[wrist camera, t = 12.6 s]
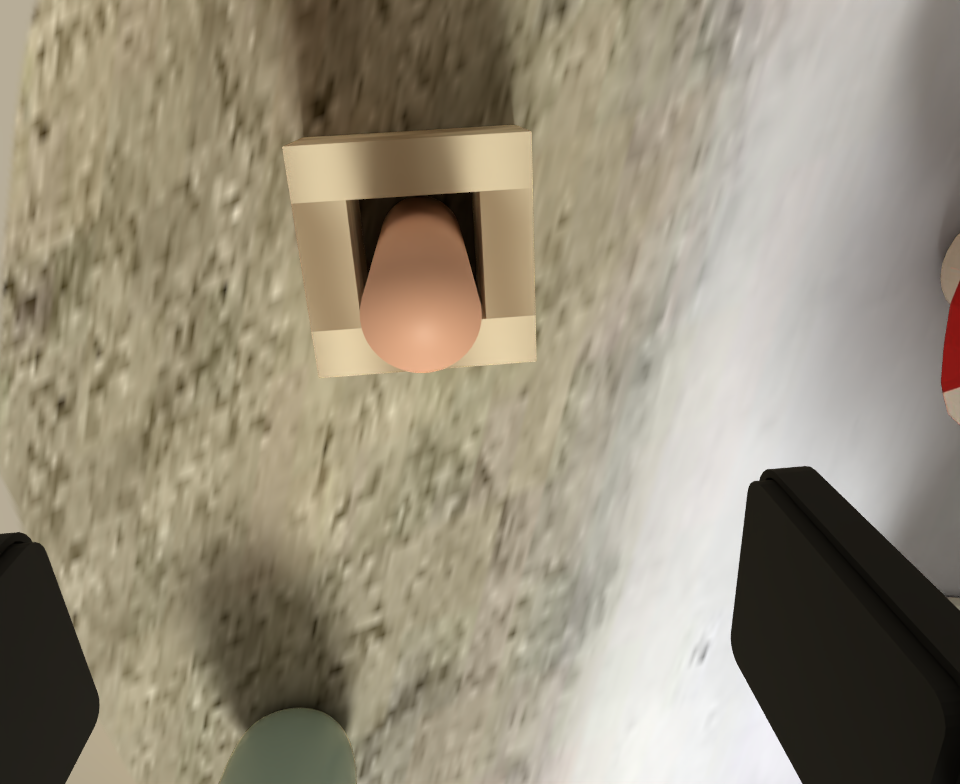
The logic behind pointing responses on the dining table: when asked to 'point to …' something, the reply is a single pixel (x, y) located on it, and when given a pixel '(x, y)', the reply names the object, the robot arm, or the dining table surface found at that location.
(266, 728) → the cup
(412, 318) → the long pin
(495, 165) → the bore block
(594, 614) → the dining table surface
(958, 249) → the decorative mushroom
